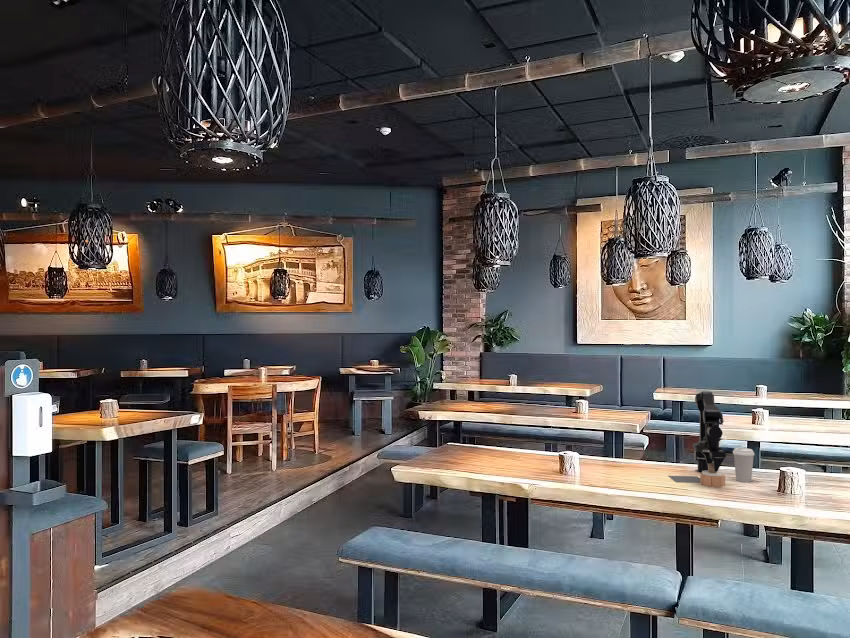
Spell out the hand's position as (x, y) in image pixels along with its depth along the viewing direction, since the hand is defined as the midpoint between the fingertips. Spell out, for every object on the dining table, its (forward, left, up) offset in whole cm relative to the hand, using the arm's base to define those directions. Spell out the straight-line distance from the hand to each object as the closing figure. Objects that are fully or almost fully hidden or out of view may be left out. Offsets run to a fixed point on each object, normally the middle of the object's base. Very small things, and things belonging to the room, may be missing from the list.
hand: (712, 469), depth 300 cm
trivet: (-9, -9, -7) cm, 15 cm away
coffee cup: (-11, +18, -8) cm, 22 cm away
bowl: (0, 0, -7) cm, 7 cm away
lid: (0, 0, -2) cm, 2 cm away
